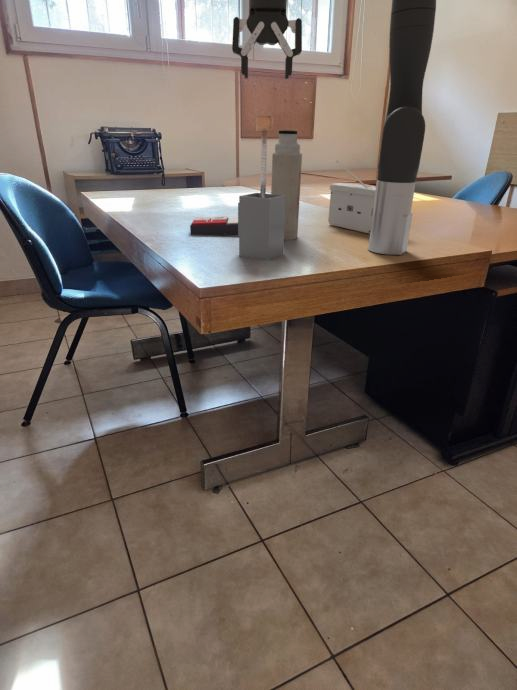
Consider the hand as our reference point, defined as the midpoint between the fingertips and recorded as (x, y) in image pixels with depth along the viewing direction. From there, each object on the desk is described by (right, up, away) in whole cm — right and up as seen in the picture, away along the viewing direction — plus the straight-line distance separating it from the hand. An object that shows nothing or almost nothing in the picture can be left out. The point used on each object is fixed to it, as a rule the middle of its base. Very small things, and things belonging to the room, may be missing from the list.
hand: (266, 78), depth 96 cm
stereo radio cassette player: (+30, -20, +49) cm, 60 cm away
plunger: (-1, -24, +11) cm, 27 cm away
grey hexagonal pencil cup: (-2, -34, +17) cm, 38 cm away
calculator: (-14, -23, +41) cm, 49 cm away
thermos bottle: (+6, -25, +36) cm, 44 cm away
